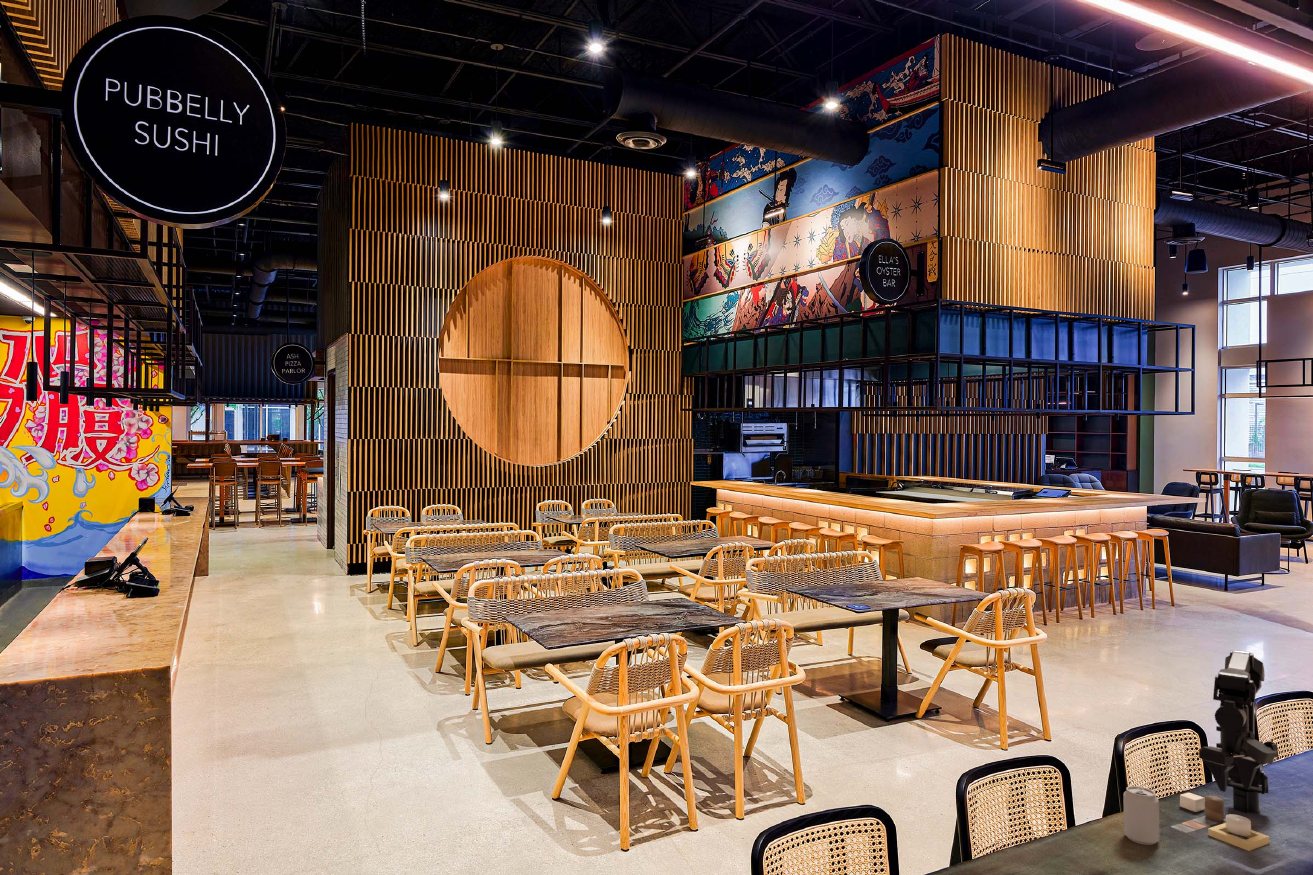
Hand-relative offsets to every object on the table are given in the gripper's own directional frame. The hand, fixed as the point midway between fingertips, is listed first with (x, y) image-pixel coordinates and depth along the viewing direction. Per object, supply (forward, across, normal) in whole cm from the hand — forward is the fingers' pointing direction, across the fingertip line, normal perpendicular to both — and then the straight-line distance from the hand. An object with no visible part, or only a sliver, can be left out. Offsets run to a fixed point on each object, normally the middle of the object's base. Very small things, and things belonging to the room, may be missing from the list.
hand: (1234, 789), depth 197 cm
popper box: (+13, +1, 0) cm, 13 cm away
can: (+14, -19, +10) cm, 26 cm away
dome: (+10, +1, 0) cm, 10 cm away
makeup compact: (+12, +1, +10) cm, 16 cm away
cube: (+12, +9, +16) cm, 22 cm away
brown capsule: (+11, +8, +10) cm, 17 cm away
